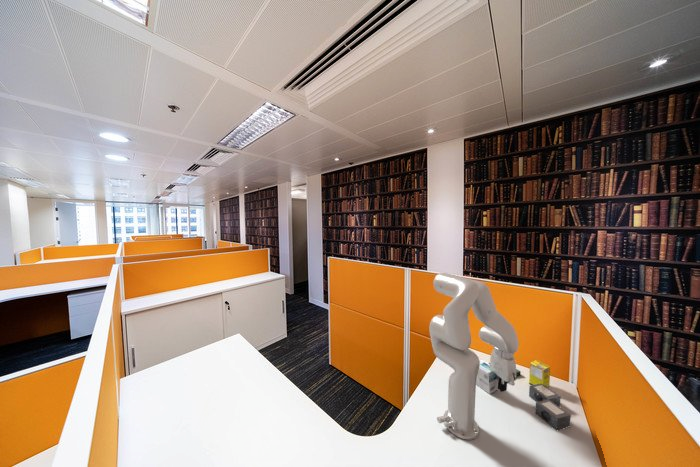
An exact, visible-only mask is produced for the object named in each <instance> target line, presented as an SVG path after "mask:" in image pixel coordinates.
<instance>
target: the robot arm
mask: <svg viewBox="0 0 700 467" xmlns="http://www.w3.org/2000/svg"><path fill="white" fill-rule="evenodd" d="M432 283H433V289H434V290H435V291H436V292H437V293H439V294H441V295H444V296H447V297H451V298H452V300H451V301H450V302H448V303H447V305H446V306H445V307H444V308H443V310H442V314H437V315H434V316H433V317H432V318H431V319H430V322H429V327H428V329H429V330H428V331H429V337H430V341H431V346H432V352H433V354H434V356H435V357H436V358H437V359H438V360H439V361H441V362H443V363H444V364H445V365H447V366H448V367H450V368H451V369H453V371H454V372H452V373H451V374H450V376H449V377H448V392H447V393H448V395H447V396H448V398H447V410H445V412H444V413H443V416H437V417H436V420H437V423H438V424H442V423H443V425H444V427H445V428H446V429H447V430H448V431H449V433H450V432H451V433H452V435H454V436H456V437H458V438H460V439H463V440H473V439H476V438H477V437H478V436H479V433H480V430H479V425H478V423H477V421H476V420H475V419H476V418H475V415H476V413H475V412H476V410H475V409H476V391H477V385H476V379H477V374H478V370H479V366H480V360H479V358H480V357H479V356H478V355H477V354H476V353H475V352H474V351H472V350H471V349H470V347H471V345H472V335H471V329H470V322H469V312H470V311H471V309H472V311H473V314H474V317H475V318H476V319H477V320H478V321H479V322H480V323H482V324H483V325H484V326H483V327H481V328H480V330H479V332H478V336H479V339H480V340H481V341H482V342H484V343H485V344H488V345H489V346H492V347H493V349H492V350H491V352H490V353H491V354H490V356H489V357H490V359H489V363H490V369H491V370H492V371H493V372H494V373H495V374H496V376H497V380H498V389H497V390H499V391H500V392H506V391H507V390H508V389H507V388H508V384H509V385H510V386H512V387H513V386H515V384H516V383H515V381H516V380H517V377H516V369H517V364H516V359H515V353H516V352H517V351H518V350H519V348H520V347H519V337H518V334H517V331H516V329H515V327H514V326H513V324H511V322H510V321H509V320H508V319H507V318H505V316H504V315H503V314H501V313H500V312H499V311H498V309H497V307H496V304H495V302H494V299H493V297H492V293H491V290H490V287H489V286H488V285H487V284H486V283H485V282H482V281H479V280H476V279H471V278H468V277H462V276H459V275H455V274H450V273H447V272H440V273H438V274H436V275H435V277H434V279H433V282H432ZM478 357H479V358H478Z"/></svg>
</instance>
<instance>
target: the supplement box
mask: <svg viewBox="0 0 700 467" xmlns="http://www.w3.org/2000/svg"><path fill="white" fill-rule="evenodd" d="M528 376H529V379H528V380H529V381H528V383H529V384H528V385H529V386H531V385H536V384H540V383H541V384H543V385H544V386H546V387H547V388H549V389H550V378H551V365H548V364H546V363H543V362H542V361H540V360H538V359H536V360H534V361H531V362H530V363H529V375H528Z"/></svg>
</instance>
